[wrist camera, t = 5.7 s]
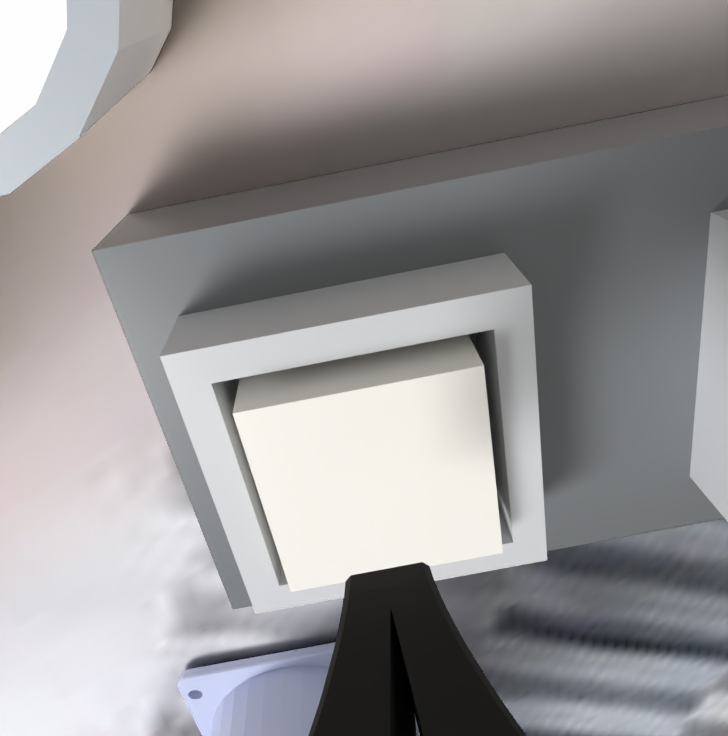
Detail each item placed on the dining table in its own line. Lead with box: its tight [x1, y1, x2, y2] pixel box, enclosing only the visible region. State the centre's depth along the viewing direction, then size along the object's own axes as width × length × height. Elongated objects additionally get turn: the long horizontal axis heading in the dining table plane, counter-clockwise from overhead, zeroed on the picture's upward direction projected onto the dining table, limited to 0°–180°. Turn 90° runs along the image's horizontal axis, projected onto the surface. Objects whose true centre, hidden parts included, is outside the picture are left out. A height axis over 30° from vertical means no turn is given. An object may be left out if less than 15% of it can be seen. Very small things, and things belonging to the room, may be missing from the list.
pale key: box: [232, 334, 503, 592], centre depth 14 cm, size 5×5×2 cm
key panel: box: [92, 95, 728, 614], centre depth 16 cm, size 11×22×5 cm, turn 100°
